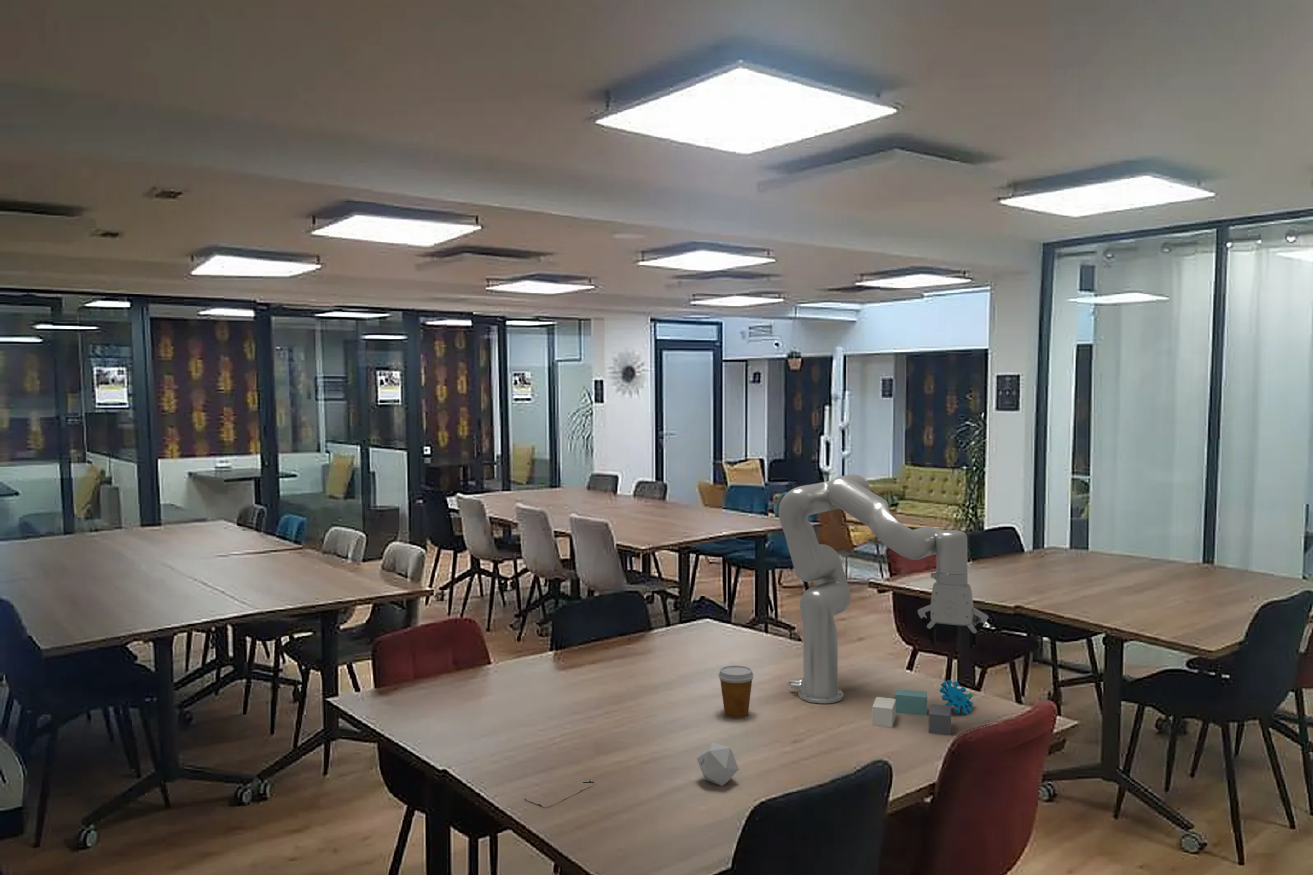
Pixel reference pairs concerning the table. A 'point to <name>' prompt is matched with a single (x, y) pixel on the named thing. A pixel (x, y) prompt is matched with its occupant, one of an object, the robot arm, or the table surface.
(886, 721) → the cream block
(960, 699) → the gear
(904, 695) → the teal block
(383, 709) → the table surface
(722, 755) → the die
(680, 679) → the table surface
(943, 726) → the charcoal block
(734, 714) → the disposable coffee cup
